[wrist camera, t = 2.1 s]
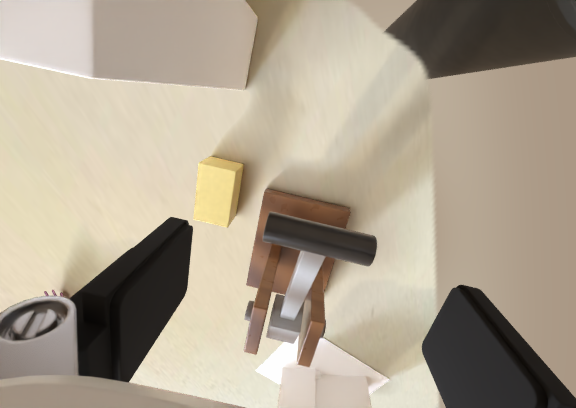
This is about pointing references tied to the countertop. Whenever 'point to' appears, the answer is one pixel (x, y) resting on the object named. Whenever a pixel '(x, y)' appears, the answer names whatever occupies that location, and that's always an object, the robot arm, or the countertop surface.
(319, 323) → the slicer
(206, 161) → the butter
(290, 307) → the lever
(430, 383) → the countertop surface
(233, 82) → the milk
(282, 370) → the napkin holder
